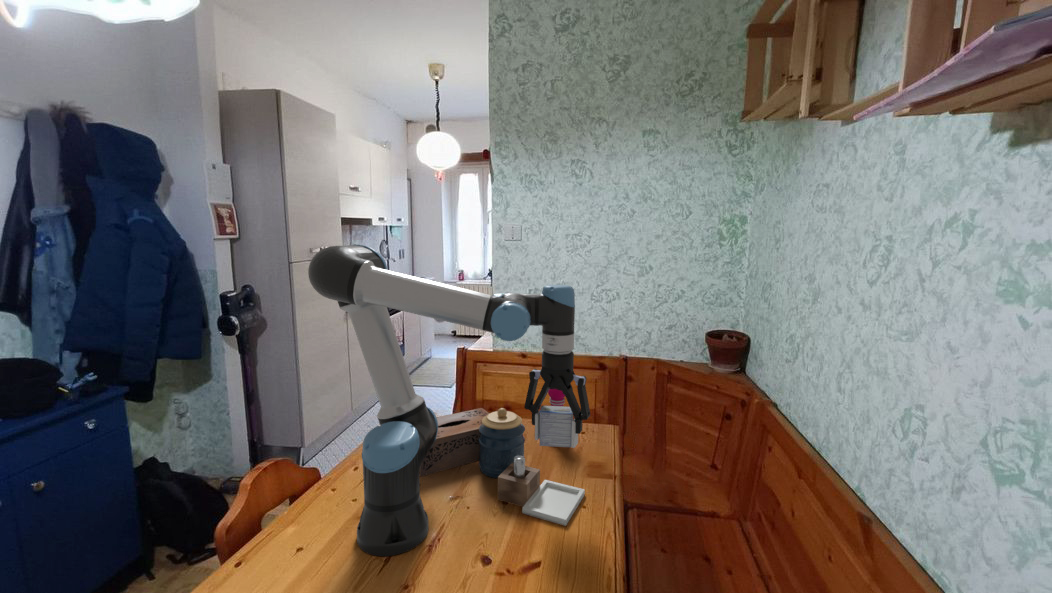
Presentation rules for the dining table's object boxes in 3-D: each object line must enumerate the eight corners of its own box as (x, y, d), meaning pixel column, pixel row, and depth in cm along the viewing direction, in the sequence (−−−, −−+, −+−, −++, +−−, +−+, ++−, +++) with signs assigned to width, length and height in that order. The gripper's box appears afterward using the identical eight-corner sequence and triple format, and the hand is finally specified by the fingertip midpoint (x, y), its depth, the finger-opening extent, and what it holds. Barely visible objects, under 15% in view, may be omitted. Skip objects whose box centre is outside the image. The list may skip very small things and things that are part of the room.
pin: (511, 496, 115) (511, 459, 114) (516, 491, 117) (517, 454, 116) (521, 499, 114) (521, 461, 112) (526, 493, 116) (526, 456, 115)
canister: (496, 485, 120) (496, 421, 118) (470, 465, 130) (469, 406, 128) (533, 469, 128) (534, 409, 126) (506, 452, 138) (506, 397, 136)
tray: (522, 513, 108) (522, 507, 108) (544, 484, 121) (544, 479, 120) (565, 525, 103) (566, 519, 103) (584, 494, 116) (584, 489, 116)
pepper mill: (571, 436, 150) (572, 378, 148) (560, 445, 144) (562, 384, 141) (551, 431, 154) (553, 374, 151) (541, 439, 148) (542, 380, 145)
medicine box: (572, 440, 112) (573, 406, 111) (572, 448, 107) (573, 413, 106) (540, 438, 113) (540, 404, 111) (539, 446, 108) (539, 411, 107)
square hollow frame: (497, 499, 114) (497, 477, 113) (512, 484, 121) (512, 462, 120) (526, 507, 110) (527, 484, 109) (539, 491, 117) (540, 469, 117)
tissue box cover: (481, 436, 150) (481, 407, 149) (503, 454, 138) (503, 423, 137) (404, 455, 136) (403, 424, 135) (420, 477, 124) (420, 442, 123)
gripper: (510, 348, 108) (509, 439, 111) (597, 359, 99) (594, 457, 102) (523, 342, 115) (522, 427, 118) (606, 352, 106) (603, 443, 109)
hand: (556, 441), depth 110 cm, fingers closed on medicine box, 9 cm apart
